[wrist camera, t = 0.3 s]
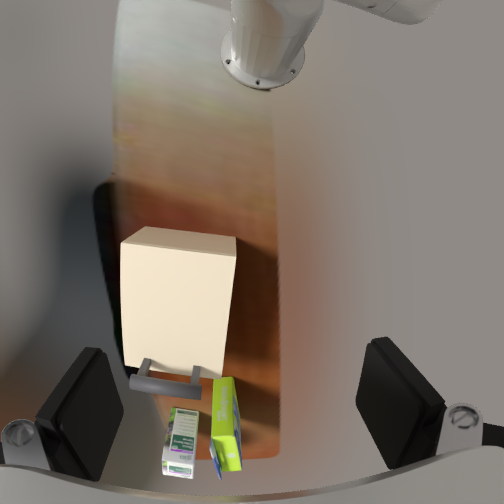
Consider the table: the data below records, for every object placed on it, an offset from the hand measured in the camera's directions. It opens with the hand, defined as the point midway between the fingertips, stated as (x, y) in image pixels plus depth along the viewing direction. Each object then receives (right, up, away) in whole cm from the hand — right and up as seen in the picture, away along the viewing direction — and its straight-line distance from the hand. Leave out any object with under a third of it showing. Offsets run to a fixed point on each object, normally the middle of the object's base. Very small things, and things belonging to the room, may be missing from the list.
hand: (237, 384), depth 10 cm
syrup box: (-13, -30, +45) cm, 56 cm away
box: (-4, -23, +44) cm, 50 cm away
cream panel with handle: (-10, -4, +27) cm, 29 cm away
